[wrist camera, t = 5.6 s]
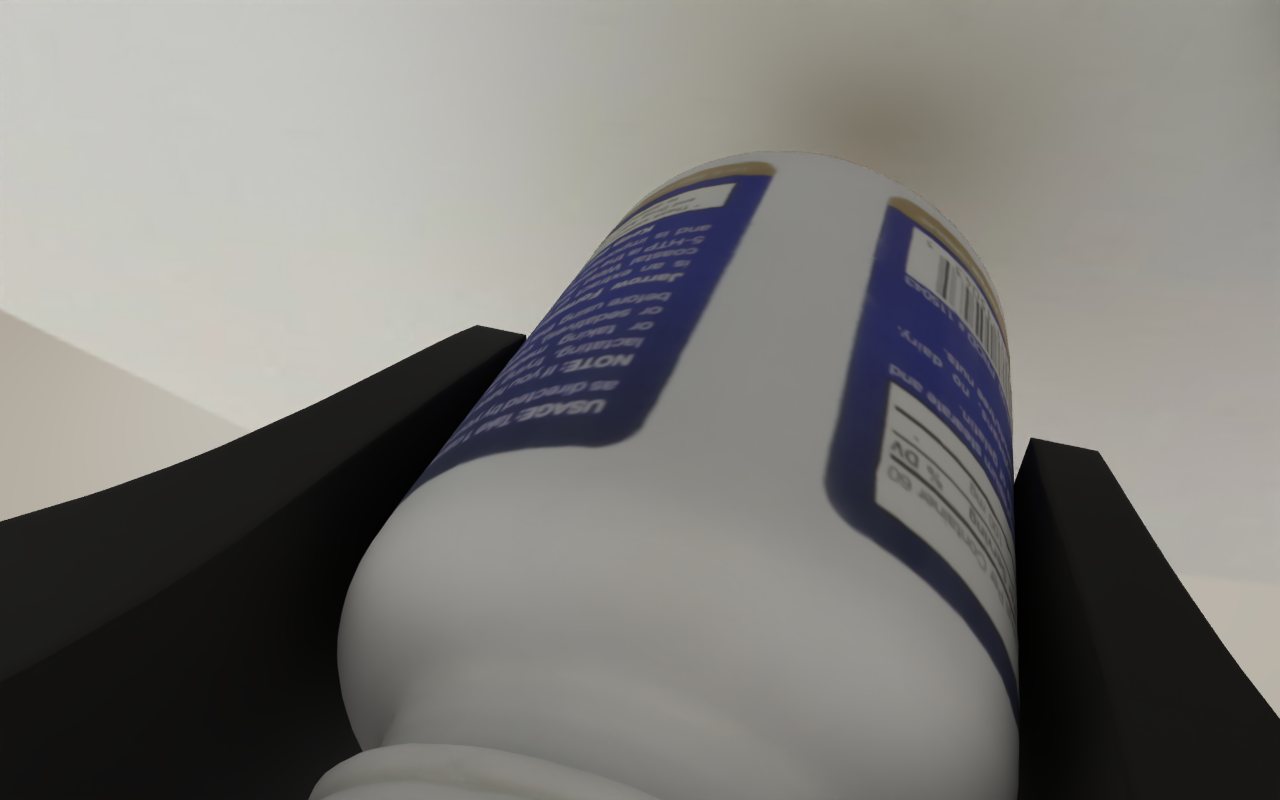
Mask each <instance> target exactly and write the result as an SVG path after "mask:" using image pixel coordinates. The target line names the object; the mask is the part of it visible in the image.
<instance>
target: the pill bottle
mask: <svg viewBox="0 0 1280 800" xmlns="http://www.w3.org/2000/svg"><path fill="white" fill-rule="evenodd" d="M1012 435H1013V419H1012V391H1011V383H1010V356H1009V349H1008V339H1007V330H1006V325H1005V320H1004V315H1003V311H1002V307H1001V304H1000V301H999V298H998V295H997V292H996V290H995V287H994V285H993V283H992V281H991V278H990V276H989V274H988V272H987V270H986V268H985V266H984V265H983V263H982V262H981V260H980V258H979V257H978V255H977V254H976V252H975V251H974V249H973V247H972V246H971V245H970V243H969V242H968V241H967V240H966V239H965V237H964V236H963V235H962V234H961V232H960V231H959V230H958V229H957V228H956V226H955V225H954V224H952V223H951V222H950V221H949V220H948V219H947V218H946V217H945V216H944V215H943V214H942V213H941V212H939V211H938V210H937V209H936V208H935V207H933V206H932V205H931V204H930V203H929V202H927V201H926V200H924V199H923V198H921V197H920V196H919V195H917V194H916V193H914V192H912V191H911V190H909V189H907V188H906V187H904V186H903V185H901V184H899V183H897V182H895V181H893V180H891V179H889V178H887V177H885V176H883V175H881V174H879V173H877V172H875V171H873V170H870V169H868V168H865V167H863V166H861V165H858V164H855V163H852V162H849V161H846V160H843V159H839V158H835V157H830V156H825V155H820V154H812V153H803V152H794V151H763V152H752V153H745V154H740V155H735V156H730V157H726V158H722V159H718V160H715V161H711V162H708V163H705V164H703V165H700V166H698V167H695V168H693V169H690V170H688V171H686V172H683V173H681V174H679V175H677V176H676V177H674V178H672V179H670V180H669V181H667V182H665V183H664V184H662V185H660V186H659V187H657V188H656V189H655V190H653V191H652V192H650V193H649V194H648V195H647V196H645V197H644V198H643V199H642V200H641V201H640V202H638V203H637V204H636V205H635V206H634V207H633V208H632V209H631V210H630V211H629V212H628V213H627V214H626V216H625V217H624V218H623V219H622V220H621V221H620V223H619V224H618V225H617V226H616V227H615V228H614V229H613V230H612V231H611V233H610V234H609V235H608V236H607V237H606V239H605V240H604V241H603V242H602V243H601V245H600V246H599V247H598V248H597V250H596V251H595V252H594V254H593V255H592V257H591V258H590V259H589V261H588V262H587V263H586V264H585V266H584V267H583V268H582V270H581V271H580V272H579V274H578V275H577V276H576V278H575V279H574V280H573V281H572V283H571V284H570V285H569V286H568V287H567V289H566V290H565V291H564V292H563V294H562V295H561V296H560V298H559V299H558V300H557V302H556V303H555V304H554V306H553V307H552V308H551V310H550V311H549V312H548V313H547V315H546V316H545V317H544V318H543V320H542V321H541V322H540V323H539V325H538V326H537V327H536V328H535V330H534V331H533V332H532V333H531V335H530V336H529V337H528V338H527V340H526V341H525V342H524V344H523V345H522V346H521V347H520V349H519V350H518V351H517V352H516V354H515V355H514V356H513V358H512V359H511V360H510V361H509V363H508V364H507V365H506V367H505V368H504V369H503V370H502V372H501V373H500V374H499V375H498V377H497V378H496V379H495V381H494V382H493V383H492V384H491V386H490V387H489V388H488V390H487V391H486V392H485V393H484V395H483V396H482V397H481V399H480V400H479V401H478V402H477V404H476V405H475V406H474V408H473V409H472V410H471V411H470V413H469V414H468V415H467V417H466V418H465V419H464V420H463V422H462V423H461V424H460V426H459V427H458V428H457V429H456V431H455V432H454V433H453V435H452V436H451V437H450V439H449V440H448V441H447V443H446V444H445V445H444V447H443V448H442V449H441V451H440V452H439V453H438V454H437V456H436V457H435V458H434V460H433V461H432V462H431V463H430V465H429V466H428V467H427V468H426V470H425V471H424V472H423V473H422V475H421V476H420V477H419V478H418V480H417V481H416V482H415V483H414V485H413V486H412V487H411V489H410V490H409V491H408V493H407V494H406V495H405V496H404V498H403V499H402V500H401V502H400V503H399V504H398V506H397V507H396V509H395V510H394V512H393V513H392V515H391V516H390V517H389V519H388V520H387V522H386V523H385V525H384V526H383V527H382V529H381V530H380V532H379V533H378V534H377V536H376V537H375V539H374V540H373V541H372V543H371V545H370V546H369V548H368V550H367V551H366V553H365V555H364V556H363V558H362V560H361V561H360V563H359V566H358V568H357V570H356V572H355V574H354V577H353V579H352V581H351V584H350V586H349V589H348V591H347V595H346V598H345V602H344V606H343V610H342V614H341V619H340V625H339V632H338V644H337V664H338V672H339V679H340V685H341V692H342V697H343V701H344V705H345V708H346V712H347V715H348V718H349V721H350V724H351V727H352V730H353V732H354V734H355V736H356V738H357V740H358V743H359V745H360V747H361V749H362V751H363V752H361V753H359V754H357V755H355V756H353V757H351V758H349V759H347V760H345V761H343V762H340V763H339V764H338V765H336V766H335V767H333V768H332V769H330V770H329V771H327V772H326V773H325V774H324V775H323V776H322V777H321V779H320V780H319V781H318V782H317V784H316V785H315V787H314V789H313V791H312V793H311V795H310V797H309V799H308V800H1017V795H1018V786H1019V746H1020V698H1019V670H1018V658H1019V643H1018V635H1017V587H1016V552H1015V521H1014V469H1013V448H1012Z"/></svg>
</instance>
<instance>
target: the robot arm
mask: <svg viewBox="0 0 1280 800" xmlns="http://www.w3.org/2000/svg"><path fill="white" fill-rule="evenodd" d="M525 341H526V335H523V334H519V333H514V332H509V331H504V330H499V329H494V328H489V327H484V326H479V325H476V326H473V327H471V328H469V329H466V330H464V331H461V332H459V333H457V334H455V335H452V336H450V337H448V338H446V339H444V340H442V341H440V342H438V343H436V344H434V345H432V346H430V347H428V348H426V349H424V350H422V351H420V352H418V353H416V354H414V355H412V356H410V357H408V358H406V359H404V360H402V361H400V362H398V363H396V364H394V365H392V366H390V367H388V368H386V369H384V370H382V371H380V372H378V373H376V374H374V375H372V376H370V377H368V378H366V379H364V380H362V381H360V382H358V383H356V384H354V385H352V386H350V387H348V388H346V389H344V390H342V391H340V392H338V393H336V394H334V395H332V396H330V397H328V398H326V399H324V400H322V401H320V402H318V403H315V404H313V405H311V406H309V407H307V408H305V409H302V410H300V411H298V412H296V413H294V414H291V415H289V416H287V417H285V418H282V419H280V420H278V421H276V422H274V423H271V424H269V425H267V426H265V427H262V428H260V429H258V430H256V431H254V432H251V433H249V434H247V435H245V436H243V437H240V438H238V439H236V440H234V441H232V442H229V443H227V444H225V445H222V446H220V447H218V448H215V449H213V450H210V451H208V452H205V453H203V454H201V455H198V456H195V457H193V458H190V459H188V460H185V461H183V462H180V463H178V464H175V465H173V466H170V467H167V468H165V469H162V470H159V471H156V472H153V473H151V474H148V475H145V476H142V477H140V478H137V479H134V480H131V481H128V482H126V483H123V484H120V485H118V486H115V487H112V488H109V489H106V490H103V491H100V492H97V493H94V494H91V495H88V496H84V497H81V498H78V499H75V500H71V501H68V502H65V503H61V504H58V505H55V506H51V507H48V508H44V509H41V510H38V511H34V512H31V513H28V514H25V515H21V516H18V517H14V518H11V519H8V520H4V521H1V522H0V800H308V799H309V797H310V795H311V793H312V791H313V789H314V787H315V785H316V784H317V782H318V781H319V780H320V779H321V777H322V776H323V775H324V774H325V773H326V772H327V771H329V770H330V769H332V768H333V767H335V766H336V765H338V764H339V763H340V762H343V761H345V760H347V759H349V758H351V757H353V756H355V755H357V754H359V753H361V752H363V751H362V749H361V747H360V745H359V743H358V740H357V738H356V736H355V734H354V732H353V730H352V727H351V724H350V721H349V718H348V715H347V712H346V708H345V705H344V701H343V697H342V692H341V685H340V679H339V672H338V664H337V644H338V632H339V625H340V619H341V614H342V610H343V606H344V602H345V598H346V595H347V591H348V589H349V586H350V584H351V581H352V579H353V577H354V574H355V572H356V570H357V568H358V566H359V563H360V561H361V560H362V558H363V556H364V555H365V553H366V551H367V550H368V548H369V546H370V545H371V543H372V541H373V540H374V539H375V537H376V536H377V534H378V533H379V532H380V530H381V529H382V527H383V526H384V525H385V523H386V522H387V520H388V519H389V517H390V516H391V515H392V513H393V512H394V510H395V509H396V507H397V506H398V504H399V503H400V502H401V500H402V499H403V498H404V496H405V495H406V494H407V493H408V491H409V490H410V489H411V487H412V486H413V485H414V483H415V482H416V481H417V480H418V478H419V477H420V476H421V475H422V473H423V472H424V471H425V470H426V468H427V467H428V466H429V465H430V463H431V462H432V461H433V460H434V458H435V457H436V456H437V454H438V453H439V452H440V451H441V449H442V448H443V447H444V445H445V444H446V443H447V441H448V440H449V439H450V437H451V436H452V435H453V433H454V432H455V431H456V429H457V428H458V427H459V426H460V424H461V423H462V422H463V420H464V419H465V418H466V417H467V415H468V414H469V413H470V411H471V410H472V409H473V408H474V406H475V405H476V404H477V402H478V401H479V400H480V399H481V397H482V396H483V395H484V393H485V392H486V391H487V390H488V388H489V387H490V386H491V384H492V383H493V382H494V381H495V379H496V378H497V377H498V375H499V374H500V373H501V372H502V370H503V369H504V368H505V367H506V365H507V364H508V363H509V361H510V360H511V359H512V358H513V356H514V355H515V354H516V352H517V351H518V350H519V349H520V347H521V346H522V345H523V344H524V342H525ZM1014 521H1015V552H1016V587H1017V635H1018V643H1019V658H1018V670H1019V698H1020V746H1019V786H1018V795H1017V800H1280V718H1279V717H1278V716H1277V715H1276V713H1275V712H1274V711H1273V709H1272V708H1271V707H1270V706H1269V704H1268V703H1267V702H1266V700H1265V699H1264V698H1263V696H1262V695H1261V694H1260V693H1259V691H1258V690H1257V689H1256V687H1255V686H1254V685H1253V683H1252V682H1251V681H1250V680H1249V678H1248V677H1247V676H1246V674H1245V673H1244V672H1243V671H1242V669H1241V668H1240V667H1239V665H1238V664H1237V662H1236V661H1235V660H1234V658H1233V657H1232V655H1231V654H1230V653H1229V651H1228V650H1227V649H1226V647H1225V646H1224V644H1223V643H1222V641H1221V640H1220V639H1219V637H1218V636H1217V634H1216V633H1215V631H1214V630H1213V628H1212V627H1211V625H1210V624H1209V623H1208V621H1207V620H1206V618H1205V617H1204V615H1203V614H1202V613H1201V611H1200V609H1199V608H1198V606H1197V605H1196V604H1195V602H1194V601H1193V599H1192V598H1191V597H1190V595H1189V593H1188V592H1187V590H1186V589H1185V588H1184V586H1183V585H1182V583H1181V582H1180V580H1179V578H1178V577H1177V575H1176V574H1175V572H1174V571H1173V569H1172V568H1171V566H1170V565H1169V563H1168V562H1167V560H1166V559H1165V557H1164V555H1163V554H1162V552H1161V551H1160V549H1159V547H1158V546H1157V544H1156V543H1155V541H1154V540H1153V538H1152V536H1151V535H1150V533H1149V532H1148V530H1147V528H1146V527H1145V525H1144V524H1143V522H1142V520H1141V519H1140V517H1139V516H1138V514H1137V512H1136V511H1135V509H1134V507H1133V506H1132V504H1131V503H1130V501H1129V499H1128V498H1127V496H1126V494H1125V493H1124V491H1123V490H1122V488H1121V486H1120V485H1119V483H1118V481H1117V480H1116V478H1115V477H1114V475H1113V473H1112V472H1111V470H1110V469H1109V467H1108V465H1107V464H1106V462H1105V461H1104V459H1103V458H1102V456H1101V455H1100V453H1099V452H1098V451H1094V450H1090V449H1085V448H1080V447H1075V446H1070V445H1065V444H1060V443H1055V442H1050V441H1045V440H1040V439H1035V438H1031V439H1030V441H1029V444H1028V447H1027V450H1026V452H1025V455H1024V458H1023V461H1022V463H1021V466H1020V469H1019V472H1018V474H1017V477H1016V480H1015V483H1014Z"/></svg>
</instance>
